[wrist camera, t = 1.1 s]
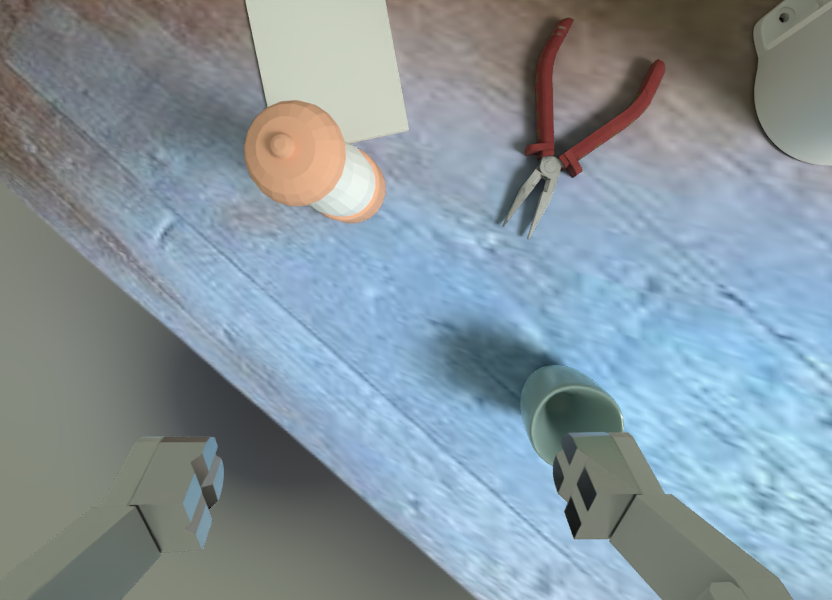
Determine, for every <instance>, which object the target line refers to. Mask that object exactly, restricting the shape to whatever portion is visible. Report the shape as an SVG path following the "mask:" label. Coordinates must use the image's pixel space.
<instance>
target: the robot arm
mask: <svg viewBox="0 0 832 600" xmlns="http://www.w3.org/2000/svg"><path fill="white" fill-rule="evenodd" d="M779 17H782V18H783V20H784V22H783V23H782V22H781V21H780V20H779ZM753 36H754V43H755V47H756V52H757V55H758V69H757V74H756V80H755V88H754V98H755V107H756V111H757V115H758V118H759V121H760V123H761V125H762V127H763V129H764V131H765V132H766V134H767V135H768V137H769V138H770V139H771V140H772V142H773V143H774V144H775V145H776V146H777V147H779V148H780V149H781V150H782V151H784V152H785V153H787V154H788V155H790V156H792V157H794V158H796V159H798V160H801V161H804V162H807V163H811V164H816V165H832V0H783V1H782V2H781V3H780V4H778V5H777V6H776V7H775V8H773V9H772V10H771V11H770V12H768V13H767V14H766V15H765V16H764V17H762V18H761V19H760V20H759V21H758V22H757V23H756V25H755V27H754V31H753ZM561 445H562V448H563V450H561V451H560V452H558V453H557V454H556V456H555V459H554V462H553V478H554V483H555V486H556V489H557V492H558V494H559V495H560V496H561V497H562V498H563V499H564V500H565V501H566V502H567V505H566V508H565V510H564V513H565V515H566V518H567V521H568V524H569V527H570V530H571V532H572V535H573V538H574V539H610V540H609V542H610V543H611V544H612V545H613V546H614V547H615V548H616V549H617V551H618V552H619V553H620V554H621V555H622V556H623V557H624V558H625V559H626V560H627V562H628V563H629V564H630V565H631V566H632V567H633V568H634V569H635V570H636V572H637V573H638V574H639V575H640V576H641V577H642V578H643V579H644V580H645V581H646V583H647V584H648V585H649V586H650V587H651V588H652V589H653V590H654V591H655V592H656V594H657V595H658V596H659V597H660V598H661V599H662V600H793V598H792V597H791V595H790V594H789V592H788V591H787V589H786V588H785V586H784V585H783V583H782V582H781V580H780V579H779V578H778V577H777V576H775V575H774V574H773V573H772V572H770V571H769V570H768V569H766V568H765V567H764V566H763V565H761V564H760V563H759V562H758V561H756V560H755V559H754V558H752V557H751V556H750V555H749V554H747V553H746V552H745V551H743V550H742V549H741V548H740V547H738V546H737V545H736V544H735V543H733V542H732V541H731V540H729V539H728V538H727V537H726V536H724V535H723V534H722V533H720V532H719V531H718V530H717V529H715V528H714V527H713V526H711V525H710V524H709V523H708V522H706V521H705V520H704V519H703V518H701V517H700V516H699V515H697V514H696V513H695V512H694V511H692V510H691V509H690V508H688V507H687V506H686V505H685V504H683V503H682V502H681V501H680V500H678V499H677V498H676V497H674V496H673V495H672V494H665V493H664V491H663V489H662V487H661V486H660V484H659V482H658V480H657V478H656V477H655V475H654V473H653V471H652V470H651V468H650V466H649V464H648V463H647V461H646V459H645V457H644V455H643V454H642V452H641V450H640V448H639V447H638V445H637V443H636V441H635V440H634V438H633V436H632V435H631V434H629V433H628V432H612V433H606V432H585V433H566V434H565V435H564V436H563V438H562V440H561ZM217 447H218V446H217V443H216V440H215V438H214V437H167V436H160V437H159V436H154V437H152V436H151V437H150V436H148V437H140V438H139V440H138V441H136V443H134V445H133V447H132V449H131V451H130V452H129V454H128V456H127V458H126V460H125V461H124V463H123V465H122V467H121V469H120V471H119V473H118V474H117V476H116V478H115V480H114V482H113V484H112V485H111V487H110V489H109V491H108V493H107V495H106V496H105V498H104V500H103V502H102V504H101V506H100V507H92V508H91V509H89V510H88V511H87V512H85V514H83V515H82V516H80V517H79V518H78V519H77V520H75V521H74V522H73V523H72V524H70V525H69V526H68V527H66V528H65V529H64V530H63V531H61V532H60V533H59V534H57V535H56V536H55V537H53V538H52V539H51V540H50V541H49V542H47V543H46V544H45V545H43V546H42V547H41V548H39V549H38V550H37V551H36V552H34V553H33V554H32V555H30V556H29V557H28V558H27V559H25V560H24V561H23V562H22V563H20V564H19V565H18V566H17V567H15V568H14V569H13V570H11V571H10V572H9V573H7V574H6V575H5V576H4V577H2V578H1V579H0V600H122V599H123V597H124V596H125V595H126V594H127V593H128V592H129V591H130V590H131V589H132V588H133V586H134V585H135V584H136V583H137V582H138V581H139V580H140V579H141V577H142V576H143V575H144V574H145V573H146V572H147V571H148V570H149V569H150V567H151V566H152V565H153V564H154V563H155V562H156V561H157V560H158V558H159V557H160V556H161V554H160V553H171V552H189V551H202V550H203V547H204V544H205V541H206V538H207V534H208V531H209V528H210V525H211V522H212V519H211V516H210V513H209V509H210V508H211V507H212V506H213V505H214V504H216V503H217V502H218V500H219V496H220V493H221V490H222V483H223V477H224V471H223V463H222V459H221V458H219V457H218V456H216V455H215V452H216V449H217Z"/></svg>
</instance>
